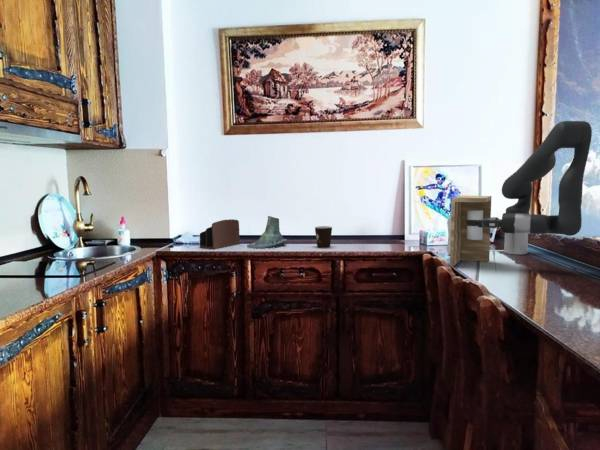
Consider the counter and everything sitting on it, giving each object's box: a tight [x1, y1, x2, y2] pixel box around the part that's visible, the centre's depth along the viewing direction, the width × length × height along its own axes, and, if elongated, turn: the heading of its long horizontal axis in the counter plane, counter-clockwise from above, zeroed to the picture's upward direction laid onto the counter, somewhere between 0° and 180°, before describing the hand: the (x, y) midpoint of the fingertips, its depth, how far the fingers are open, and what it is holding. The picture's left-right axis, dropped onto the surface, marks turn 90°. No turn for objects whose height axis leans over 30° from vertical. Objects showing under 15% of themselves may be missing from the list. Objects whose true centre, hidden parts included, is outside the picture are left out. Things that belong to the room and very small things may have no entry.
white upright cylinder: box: [467, 210, 483, 240], centre depth 166 cm, size 6×6×11 cm
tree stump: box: [246, 215, 288, 250], centre depth 224 cm, size 18×20×18 cm
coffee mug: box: [314, 225, 333, 249], centre depth 218 cm, size 12×9×10 cm
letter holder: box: [199, 218, 241, 250], centre depth 224 cm, size 10×20×14 cm, turn 147°
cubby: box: [449, 195, 492, 268], centre depth 168 cm, size 17×12×26 cm
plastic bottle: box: [446, 215, 451, 256], centre depth 187 cm, size 6×7×20 cm
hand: (468, 221), depth 167 cm, fingers closed on white upright cylinder, 5 cm apart
